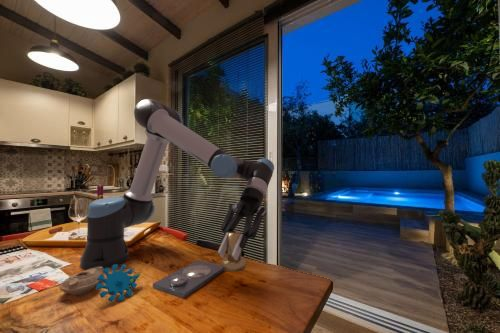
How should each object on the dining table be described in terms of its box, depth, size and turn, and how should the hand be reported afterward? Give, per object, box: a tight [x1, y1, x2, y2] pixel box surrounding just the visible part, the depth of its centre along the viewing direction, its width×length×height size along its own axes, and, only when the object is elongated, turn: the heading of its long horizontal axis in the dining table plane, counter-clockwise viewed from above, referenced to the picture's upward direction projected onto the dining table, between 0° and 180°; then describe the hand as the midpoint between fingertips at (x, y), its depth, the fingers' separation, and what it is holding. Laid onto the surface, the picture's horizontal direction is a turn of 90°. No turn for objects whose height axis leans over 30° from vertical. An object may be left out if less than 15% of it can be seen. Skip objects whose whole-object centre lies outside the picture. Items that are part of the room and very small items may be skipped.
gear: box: [95, 264, 141, 303], centre depth 60 cm, size 11×6×10 cm
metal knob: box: [221, 230, 247, 273], centre depth 65 cm, size 7×7×10 cm
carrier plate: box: [152, 259, 225, 299], centre depth 69 cm, size 12×20×2 cm, turn 153°
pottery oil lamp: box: [59, 267, 104, 296], centre depth 63 cm, size 9×12×7 cm
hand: (227, 256), depth 62 cm, fingers closed on metal knob, 4 cm apart
